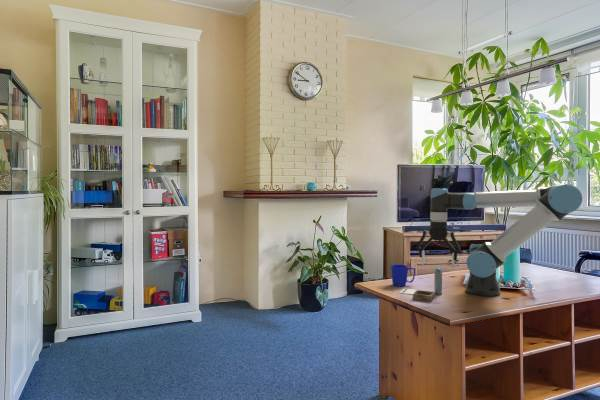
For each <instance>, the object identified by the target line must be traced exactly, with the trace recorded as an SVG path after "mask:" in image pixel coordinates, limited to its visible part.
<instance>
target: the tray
mask: <svg viewBox="0 0 600 400" xmlns="http://www.w3.org/2000/svg"><path fill="white" fill-rule="evenodd" d="M416 290H417V291H415V292H414V293H413V295H412V300H413V301H420V302H427V303H432V302H433V301H434V300H435V298H436V294H435V292H434V291H430V290H421V289H416Z"/></svg>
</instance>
